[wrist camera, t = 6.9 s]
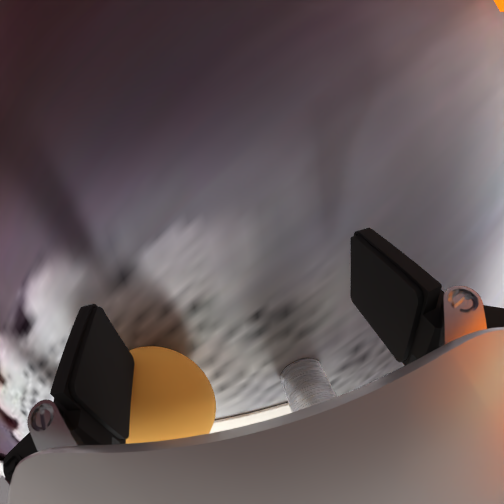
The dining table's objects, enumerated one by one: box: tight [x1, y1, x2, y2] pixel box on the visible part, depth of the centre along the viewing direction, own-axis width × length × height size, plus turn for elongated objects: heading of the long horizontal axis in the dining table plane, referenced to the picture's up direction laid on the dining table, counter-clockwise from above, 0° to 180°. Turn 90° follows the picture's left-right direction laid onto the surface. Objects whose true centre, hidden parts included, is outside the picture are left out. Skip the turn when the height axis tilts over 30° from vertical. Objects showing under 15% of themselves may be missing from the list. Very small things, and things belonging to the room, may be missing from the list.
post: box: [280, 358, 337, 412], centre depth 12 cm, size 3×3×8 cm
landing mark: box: [210, 403, 292, 433], centre depth 19 cm, size 12×12×1 cm
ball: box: [126, 346, 216, 444], centre depth 11 cm, size 6×6×6 cm
